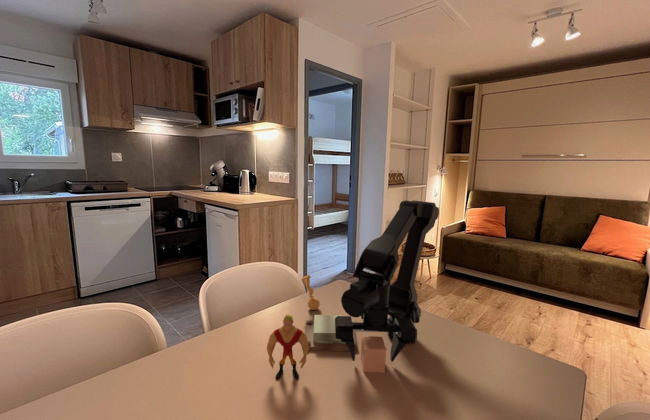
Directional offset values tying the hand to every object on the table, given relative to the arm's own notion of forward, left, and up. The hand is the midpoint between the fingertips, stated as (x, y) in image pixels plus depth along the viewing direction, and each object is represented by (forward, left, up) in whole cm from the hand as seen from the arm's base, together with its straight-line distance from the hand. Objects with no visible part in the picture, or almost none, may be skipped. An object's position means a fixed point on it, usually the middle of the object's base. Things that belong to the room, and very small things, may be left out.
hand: (372, 360), depth 72 cm
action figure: (+20, +4, -1) cm, 20 cm away
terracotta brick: (0, 0, -1) cm, 1 cm away
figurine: (+16, -26, -1) cm, 31 cm away
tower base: (+10, -11, -1) cm, 15 cm away
